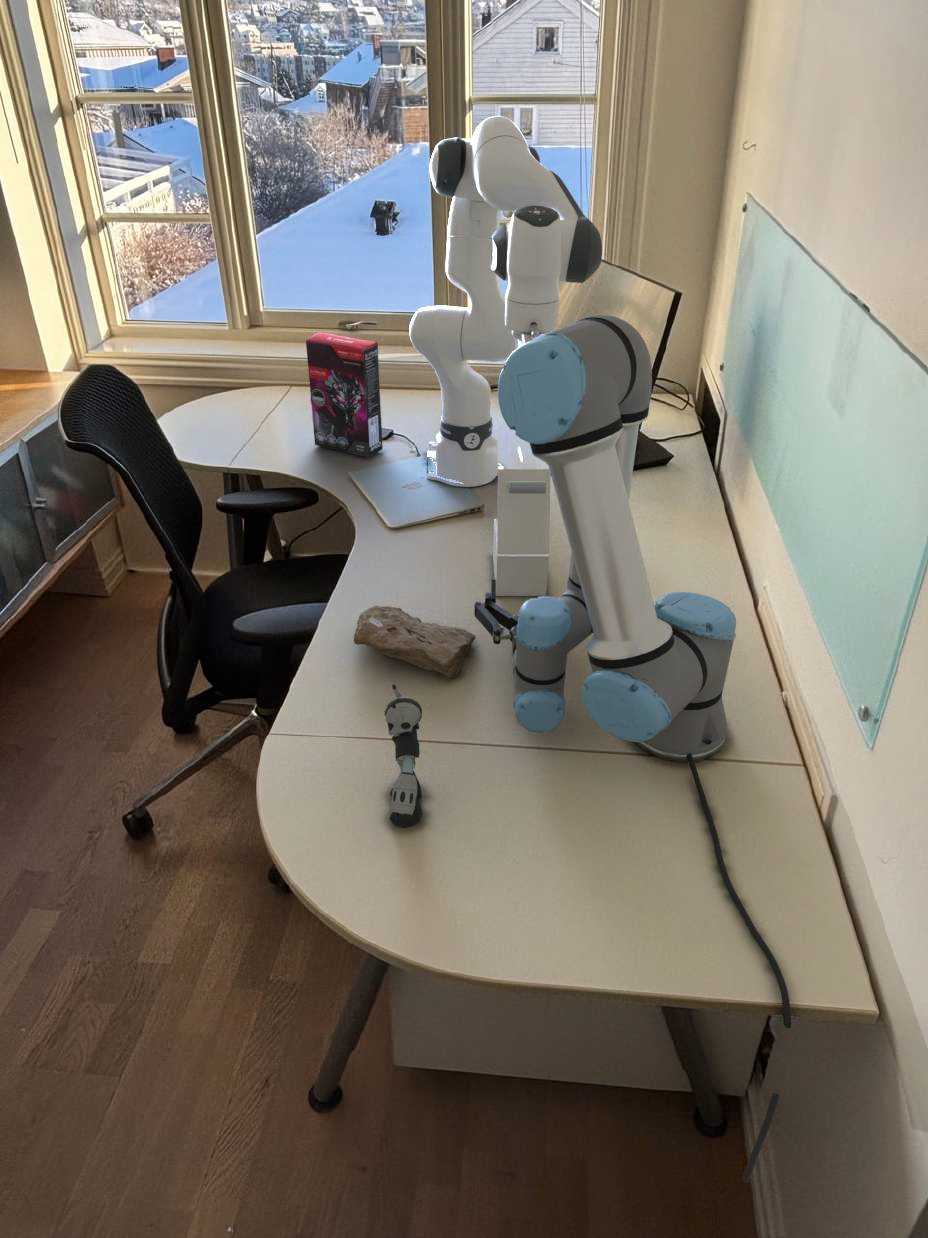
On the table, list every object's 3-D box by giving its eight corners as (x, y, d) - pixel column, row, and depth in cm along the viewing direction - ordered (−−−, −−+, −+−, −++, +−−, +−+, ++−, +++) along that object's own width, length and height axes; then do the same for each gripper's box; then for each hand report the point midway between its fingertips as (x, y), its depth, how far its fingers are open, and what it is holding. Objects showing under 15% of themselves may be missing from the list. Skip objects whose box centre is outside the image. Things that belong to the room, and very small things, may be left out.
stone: (330, 651, 154) (336, 619, 151) (363, 622, 167) (369, 592, 165) (447, 693, 150) (456, 661, 148) (471, 659, 164) (479, 629, 161)
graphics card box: (312, 446, 233) (302, 338, 217) (328, 436, 238) (320, 330, 223) (369, 459, 226) (363, 349, 211) (384, 449, 231) (380, 341, 216)
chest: (492, 556, 187) (494, 518, 183) (539, 557, 188) (542, 519, 183) (495, 596, 175) (497, 556, 170) (546, 596, 175) (548, 556, 170)
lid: (497, 469, 168) (500, 468, 159) (550, 469, 168) (555, 469, 160) (497, 553, 170) (499, 558, 162) (548, 553, 171) (553, 558, 162)
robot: (425, 859, 121) (422, 744, 110) (387, 860, 121) (381, 745, 110) (423, 757, 137) (420, 648, 126) (390, 758, 137) (385, 649, 126)
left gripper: (556, 334, 143) (551, 418, 151) (545, 298, 160) (541, 376, 168) (516, 333, 143) (512, 418, 151) (509, 298, 160) (506, 376, 168)
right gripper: (616, 638, 146) (602, 569, 163) (458, 635, 146) (462, 567, 164) (611, 676, 150) (598, 605, 168) (458, 673, 150) (461, 602, 168)
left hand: (527, 396), depth 159 cm, fingers open, 8 cm apart
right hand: (531, 586), depth 166 cm, fingers open, 13 cm apart
